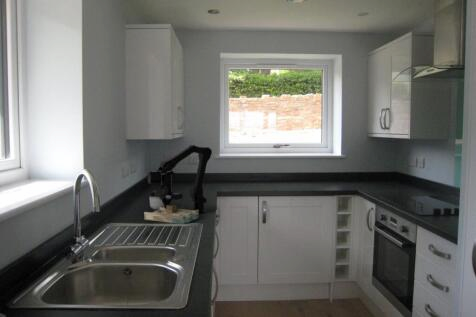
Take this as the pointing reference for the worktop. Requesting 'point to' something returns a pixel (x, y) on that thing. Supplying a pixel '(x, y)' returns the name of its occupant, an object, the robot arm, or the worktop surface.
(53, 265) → the worktop surface
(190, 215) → the track
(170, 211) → the walnut block
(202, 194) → the robot arm
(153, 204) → the teacup
